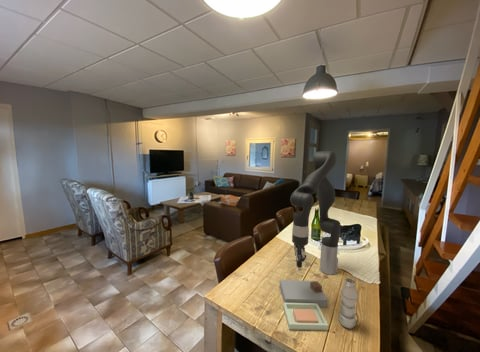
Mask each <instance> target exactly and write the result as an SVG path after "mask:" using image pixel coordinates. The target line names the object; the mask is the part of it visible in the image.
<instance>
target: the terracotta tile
mask: <svg viewBox="0 0 480 352" xmlns="http://www.w3.org/2000/svg"><path fill="white" fill-rule="evenodd" d="M293 317H294V320H295V322H298V323H318V319H317V316H316V314H315V312H314V310H313V309H293Z"/></svg>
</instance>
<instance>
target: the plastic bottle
mask: <svg viewBox="0 0 480 352" xmlns="http://www.w3.org/2000/svg"><path fill="white" fill-rule="evenodd" d="M340 297H341V300H340V302H341V303H340V309H339V311H338V321H339V323H340V324H341V326H343V327H344V328H345V329H353V328H355V325H356V320H357V319H356V305H357V301H358V297H359V295H358V291H357V289H356V281H355V280H354V279H352V278H350V277H349V278H348V277H346V278H345V281H344V285H343V286H341V288H340Z"/></svg>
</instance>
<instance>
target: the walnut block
mask: <svg viewBox="0 0 480 352" xmlns="http://www.w3.org/2000/svg"><path fill="white" fill-rule="evenodd" d="M314 281H315V282H310V288H311V289H312V290H313V291H314V293H317V292H322V291H323V285H322V284H321V283H320V282H319V281H318V280H314Z"/></svg>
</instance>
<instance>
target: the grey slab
mask: <svg viewBox="0 0 480 352" xmlns="http://www.w3.org/2000/svg"><path fill="white" fill-rule="evenodd" d="M315 281H316V280H298V279H297V280H296V279H295V280H292V279H288V280H287V279H286V280H285V279H280V280H279V291H280V294H281V297H282V300H283V302H284V303H317V304H318V306H319V308H328V302H329V301H328V297H327V296H326V294H325V292H324V291H323V290H322V292H317V293H314V291H313V290H312V289H311V288H310V282H315Z"/></svg>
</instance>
